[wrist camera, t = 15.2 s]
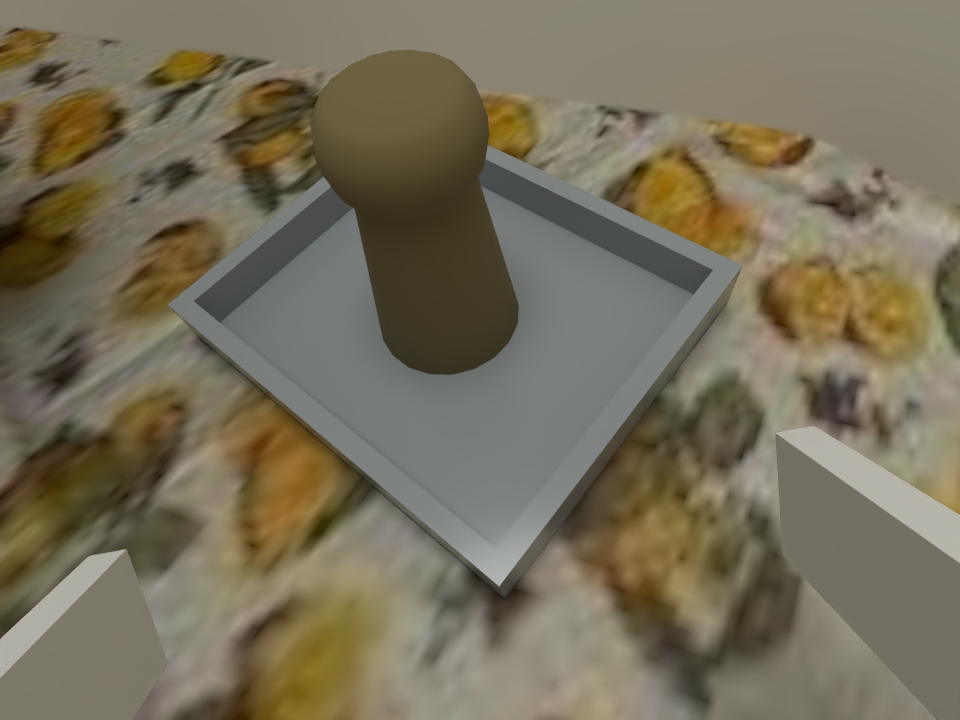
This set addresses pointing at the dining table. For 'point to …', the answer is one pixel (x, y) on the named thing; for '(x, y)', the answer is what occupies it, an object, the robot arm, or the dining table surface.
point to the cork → (419, 205)
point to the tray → (482, 391)
